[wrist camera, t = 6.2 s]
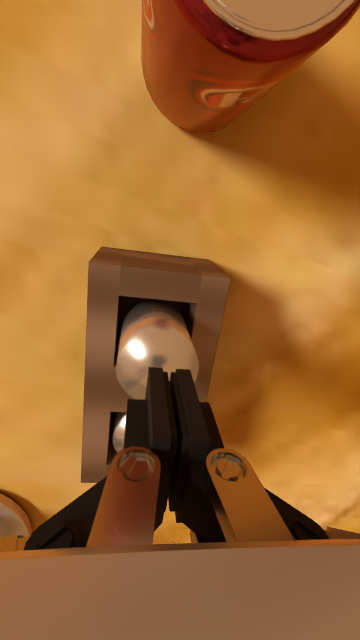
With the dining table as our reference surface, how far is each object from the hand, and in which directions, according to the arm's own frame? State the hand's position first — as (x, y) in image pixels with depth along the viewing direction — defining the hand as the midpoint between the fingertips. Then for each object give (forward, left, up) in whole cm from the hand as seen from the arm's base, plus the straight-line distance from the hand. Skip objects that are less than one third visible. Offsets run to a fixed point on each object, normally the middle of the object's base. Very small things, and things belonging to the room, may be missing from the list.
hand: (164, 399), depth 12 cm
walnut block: (-4, -2, -13) cm, 13 cm away
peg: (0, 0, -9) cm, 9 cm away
